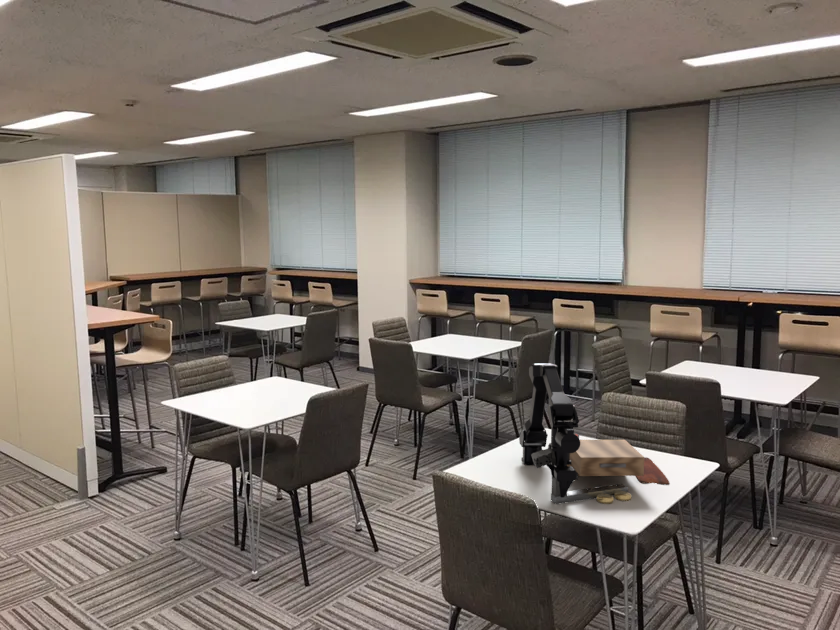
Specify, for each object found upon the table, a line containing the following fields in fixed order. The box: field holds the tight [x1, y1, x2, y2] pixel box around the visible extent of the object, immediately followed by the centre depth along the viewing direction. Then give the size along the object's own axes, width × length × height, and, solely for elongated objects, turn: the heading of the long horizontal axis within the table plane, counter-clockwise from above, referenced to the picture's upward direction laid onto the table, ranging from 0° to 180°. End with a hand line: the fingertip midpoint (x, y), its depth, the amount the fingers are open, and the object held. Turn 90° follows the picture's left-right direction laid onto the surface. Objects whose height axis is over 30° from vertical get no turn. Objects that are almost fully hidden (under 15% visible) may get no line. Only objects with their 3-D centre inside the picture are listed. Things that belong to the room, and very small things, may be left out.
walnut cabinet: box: [567, 439, 645, 477], centre depth 214 cm, size 20×19×12 cm
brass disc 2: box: [613, 491, 632, 502], centre depth 203 cm, size 5×5×2 cm
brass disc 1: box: [596, 494, 615, 505], centre depth 201 cm, size 5×5×2 cm
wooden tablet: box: [635, 456, 670, 485], centre depth 228 cm, size 27×10×2 cm, turn 174°
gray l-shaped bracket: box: [550, 476, 629, 505], centre depth 203 cm, size 26×3×8 cm, turn 110°
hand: (558, 492), depth 200 cm, fingers open, 8 cm apart
